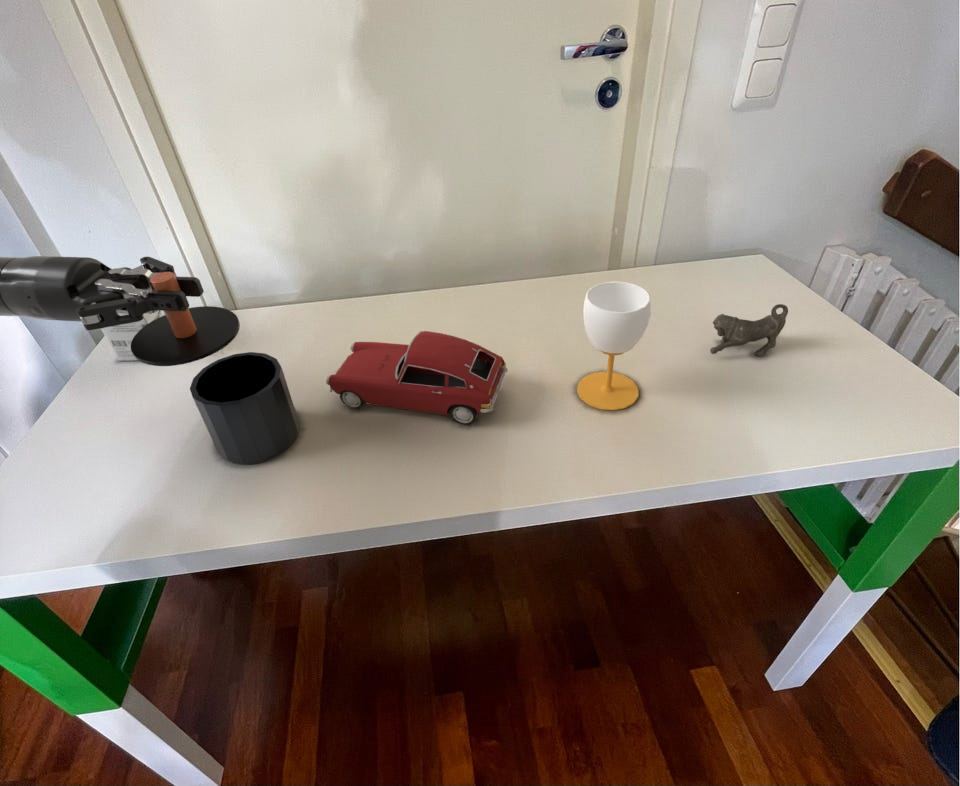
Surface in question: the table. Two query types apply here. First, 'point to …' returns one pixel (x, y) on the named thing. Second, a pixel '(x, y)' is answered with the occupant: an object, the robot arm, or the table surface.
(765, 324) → the dog figurine
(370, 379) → the toy car
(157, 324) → the lid
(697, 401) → the table surface
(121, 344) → the ink box
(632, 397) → the cup
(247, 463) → the canister
